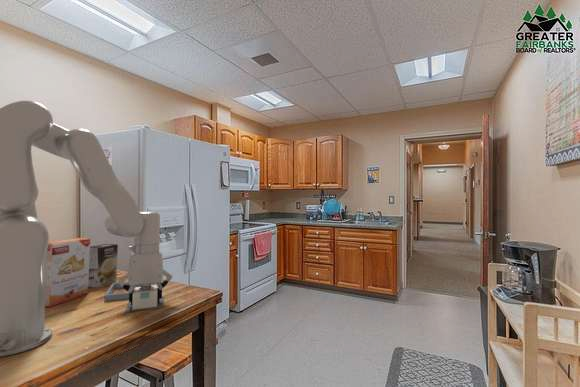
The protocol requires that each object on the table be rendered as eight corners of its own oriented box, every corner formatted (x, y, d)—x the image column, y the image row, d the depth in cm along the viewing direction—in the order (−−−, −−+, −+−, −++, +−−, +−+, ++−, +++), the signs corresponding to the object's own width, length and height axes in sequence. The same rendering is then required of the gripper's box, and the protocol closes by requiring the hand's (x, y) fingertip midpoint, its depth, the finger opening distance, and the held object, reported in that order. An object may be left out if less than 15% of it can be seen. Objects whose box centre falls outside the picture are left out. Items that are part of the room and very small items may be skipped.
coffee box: (98, 288, 111) (99, 247, 111) (85, 286, 112) (86, 247, 113) (117, 281, 120) (118, 244, 120) (104, 280, 121) (105, 243, 122)
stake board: (163, 311, 89) (163, 289, 89) (123, 316, 85) (124, 293, 85) (164, 299, 99) (164, 279, 100) (129, 303, 95) (129, 283, 95)
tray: (151, 298, 100) (151, 290, 100) (104, 304, 94) (104, 295, 94) (153, 286, 113) (153, 279, 113) (112, 291, 108) (112, 283, 108)
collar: (156, 308, 89) (156, 293, 89) (131, 311, 86) (131, 295, 86) (157, 299, 97) (158, 284, 97) (135, 302, 94) (135, 287, 94)
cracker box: (50, 307, 91) (52, 243, 91) (36, 306, 92) (37, 243, 92) (89, 293, 105) (91, 238, 105) (76, 292, 106) (77, 237, 106)
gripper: (114, 252, 86) (113, 310, 85) (175, 249, 93) (174, 302, 92) (118, 248, 93) (117, 301, 92) (175, 245, 99) (174, 295, 99)
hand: (145, 301), depth 92 cm, fingers closed on collar, 7 cm apart
